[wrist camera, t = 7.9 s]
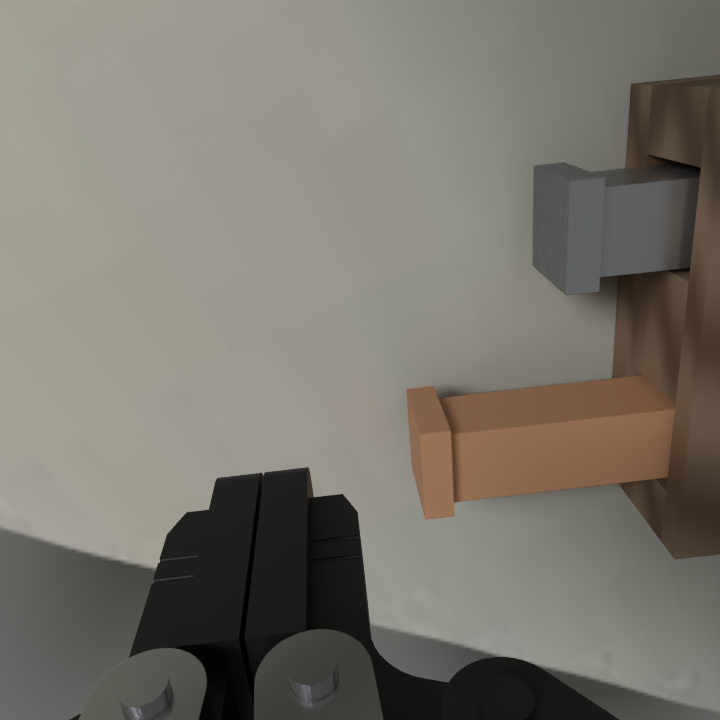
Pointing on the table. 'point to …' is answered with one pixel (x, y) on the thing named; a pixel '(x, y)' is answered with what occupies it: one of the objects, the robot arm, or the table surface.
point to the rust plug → (536, 440)
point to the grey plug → (612, 222)
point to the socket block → (679, 318)
